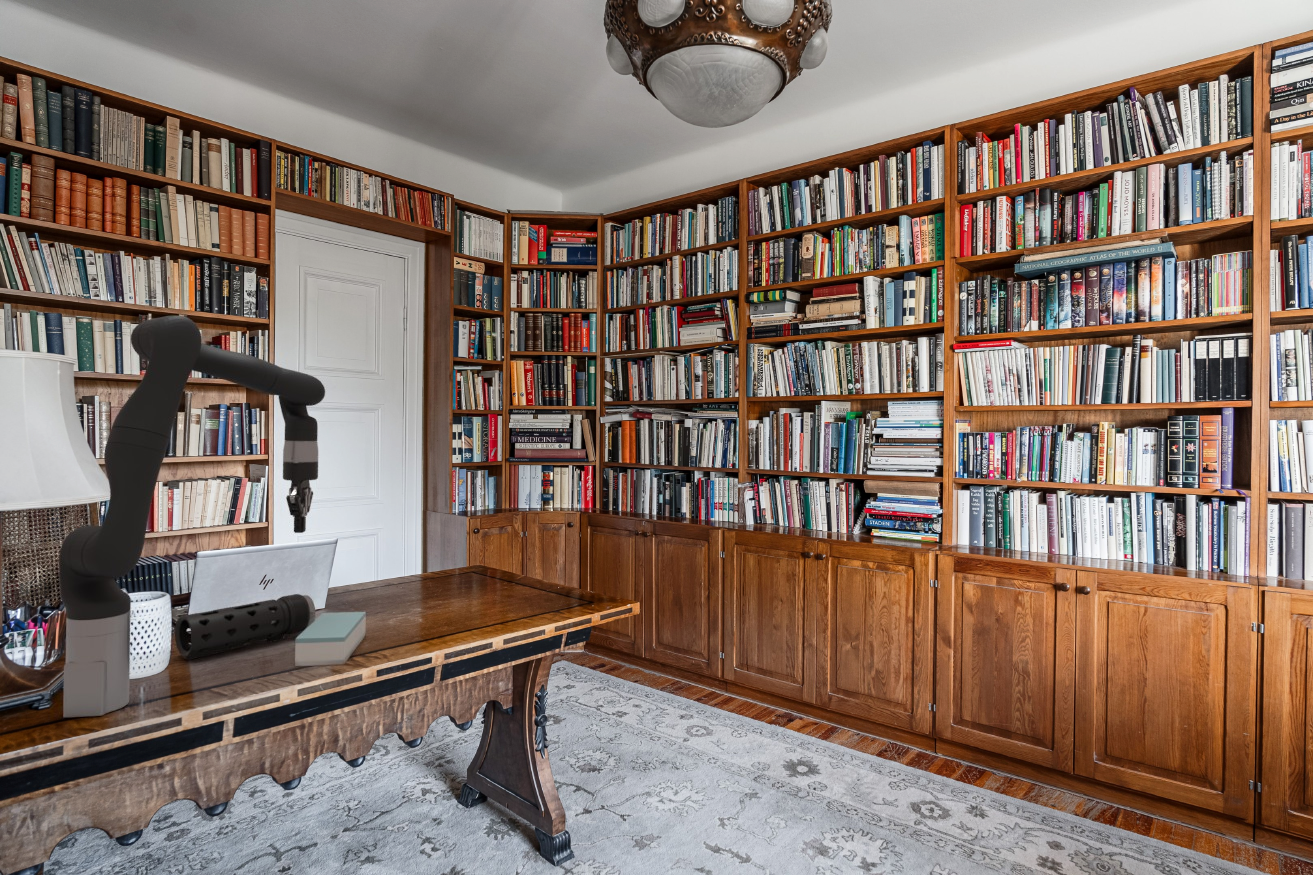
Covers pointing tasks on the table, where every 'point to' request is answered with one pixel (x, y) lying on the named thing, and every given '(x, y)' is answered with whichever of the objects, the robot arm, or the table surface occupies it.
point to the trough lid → (331, 627)
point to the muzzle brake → (242, 625)
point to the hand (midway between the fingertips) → (299, 532)
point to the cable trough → (329, 649)
